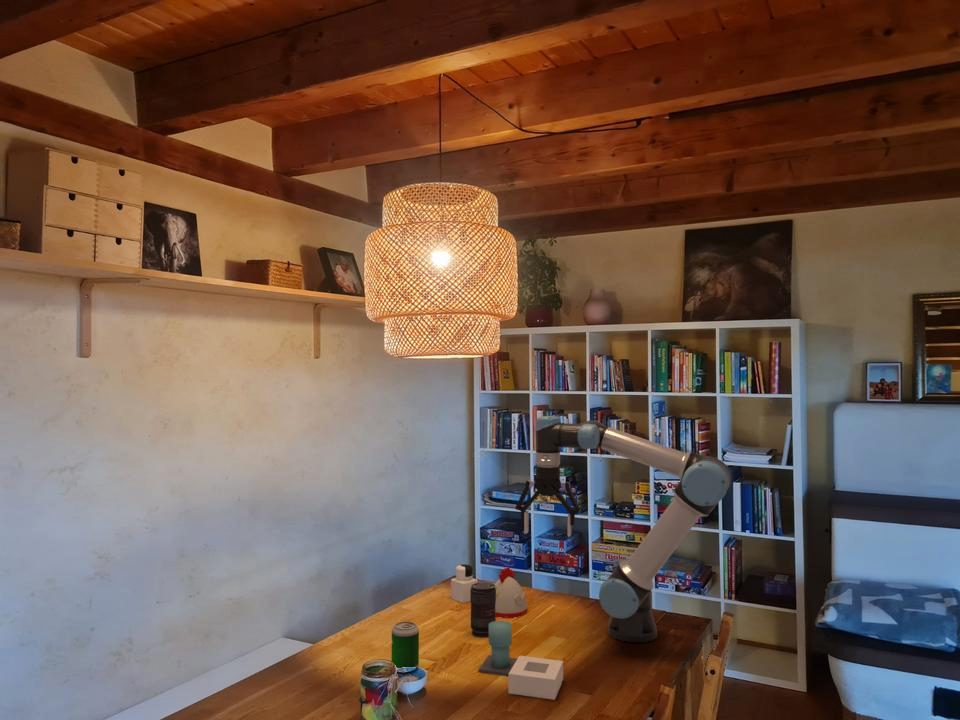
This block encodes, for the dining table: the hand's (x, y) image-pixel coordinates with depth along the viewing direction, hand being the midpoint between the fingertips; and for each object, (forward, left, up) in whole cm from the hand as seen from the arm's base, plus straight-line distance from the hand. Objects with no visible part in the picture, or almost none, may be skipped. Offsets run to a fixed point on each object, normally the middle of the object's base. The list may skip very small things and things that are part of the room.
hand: (547, 534), depth 219 cm
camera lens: (+20, +3, -32) cm, 38 cm away
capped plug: (+8, +26, -31) cm, 41 cm away
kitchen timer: (+18, -19, -32) cm, 41 cm away
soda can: (+33, +35, -32) cm, 58 cm away
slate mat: (+8, +26, -32) cm, 42 cm away
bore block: (-4, +35, -32) cm, 47 cm away
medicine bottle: (+36, -27, -32) cm, 55 cm away
